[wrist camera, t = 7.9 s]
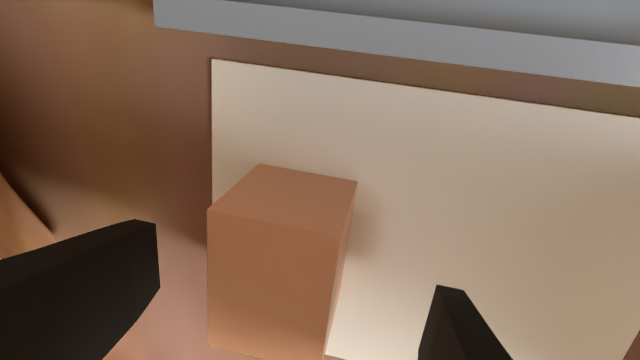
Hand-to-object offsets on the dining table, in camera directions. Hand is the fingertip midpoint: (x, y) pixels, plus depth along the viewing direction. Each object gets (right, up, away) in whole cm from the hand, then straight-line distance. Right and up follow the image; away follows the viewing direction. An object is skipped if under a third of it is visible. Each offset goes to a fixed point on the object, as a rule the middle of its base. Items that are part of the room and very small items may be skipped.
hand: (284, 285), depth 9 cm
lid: (+4, +1, +3) cm, 5 cm away
